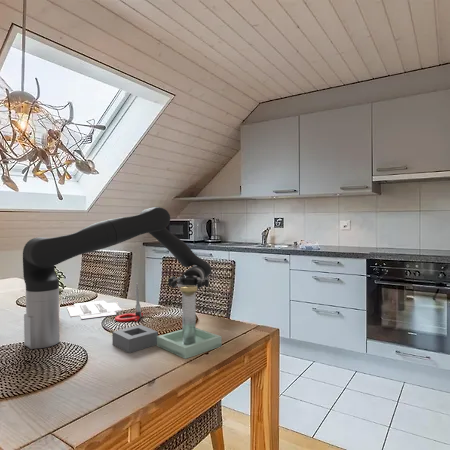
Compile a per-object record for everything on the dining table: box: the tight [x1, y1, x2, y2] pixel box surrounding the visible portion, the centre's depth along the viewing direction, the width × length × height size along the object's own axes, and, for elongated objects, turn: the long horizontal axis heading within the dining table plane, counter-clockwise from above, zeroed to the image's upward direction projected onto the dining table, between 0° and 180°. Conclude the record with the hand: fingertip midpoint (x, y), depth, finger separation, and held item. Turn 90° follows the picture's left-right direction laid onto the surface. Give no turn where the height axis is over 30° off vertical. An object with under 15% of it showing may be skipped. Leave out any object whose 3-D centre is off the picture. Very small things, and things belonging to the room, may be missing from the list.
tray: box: [156, 327, 223, 360], centre depth 110 cm, size 14×14×3 cm
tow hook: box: [114, 282, 144, 323], centre depth 140 cm, size 9×14×10 cm
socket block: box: [111, 324, 159, 354], centre depth 112 cm, size 10×10×4 cm
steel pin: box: [179, 285, 198, 345], centre depth 110 cm, size 5×5×17 cm
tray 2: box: [66, 299, 123, 320], centre depth 154 cm, size 20×28×4 cm
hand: (185, 285), depth 122 cm, fingers open, 8 cm apart
